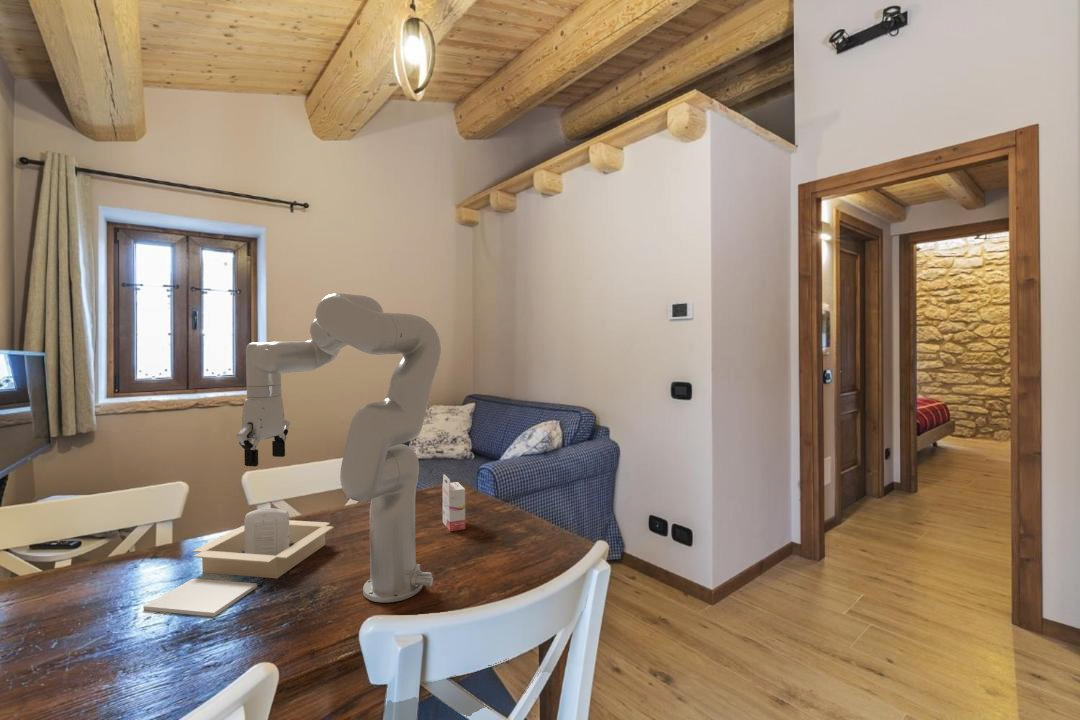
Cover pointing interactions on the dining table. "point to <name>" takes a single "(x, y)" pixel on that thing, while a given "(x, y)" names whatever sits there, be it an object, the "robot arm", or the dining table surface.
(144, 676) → the dining table surface
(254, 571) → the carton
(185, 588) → the mat
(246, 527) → the photo printer
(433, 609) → the dining table surface
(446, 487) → the ink cartridge box
